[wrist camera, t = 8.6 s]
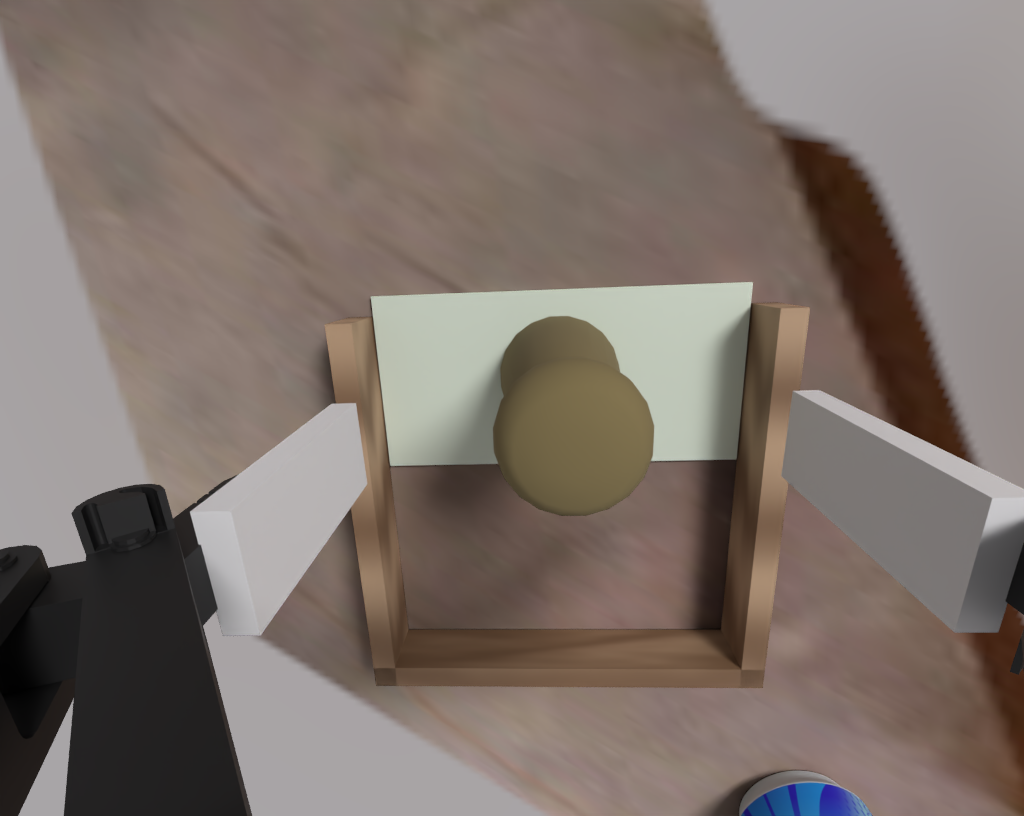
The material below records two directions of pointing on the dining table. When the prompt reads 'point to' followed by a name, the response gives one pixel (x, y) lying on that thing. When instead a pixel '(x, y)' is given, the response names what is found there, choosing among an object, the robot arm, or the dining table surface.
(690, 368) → the front pad
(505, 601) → the dining table surface
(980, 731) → the dining table surface
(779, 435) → the bay
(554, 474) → the olive chess pawn
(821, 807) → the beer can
